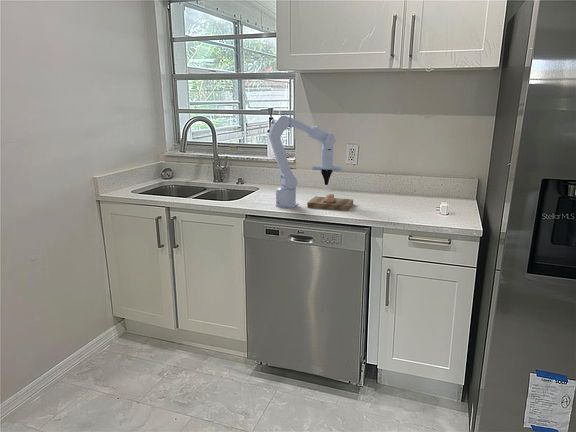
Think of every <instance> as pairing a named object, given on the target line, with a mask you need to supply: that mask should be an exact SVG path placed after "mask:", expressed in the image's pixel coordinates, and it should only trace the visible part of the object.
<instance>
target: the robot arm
mask: <svg viewBox="0 0 576 432" xmlns="http://www.w3.org/2000/svg"><path fill="white" fill-rule="evenodd" d="M288 128H296V129H297V130H300V131H302V132H304V133H306V134H307V136H308V137H309V138H311V139H312V140H315V141H317V142H319V143H320V144H321V159H320V160H321V162H320V163H321V164H320V165H312V166H311V167H312V168H311V169H312V171H320V174H321V175H322V178H323V180H324V181H323V182H324V186H328V185H329V181H330V179H331V178H330V177H331V175H332V173H333V171H335V172H337V171H338V172H342V169H343V167H342V166H338V165H337V166H335V165H334V145H335V143H336V141H337V139H336V138H335V135H334V134H333V133H330V132H328V130H323V129H321V128H320V126H318V125H313V126H309V125H307V124H306V123H304V122H301V121H300V120H298V119H296V118H293V117H291V116H288V115H285V114H284V115H281V114H276V115H274V116H273V118H272V119H271V120H270V127H269V132H268V139H269V141H270V145H271V147H272V150H273V153H274V156H275V160H276V162H277V165H278V169H279V175H280V177H279V181H280V184H281V187H277V188H276V192H275V207H278V208H280V207H281V208H290V209H292V208H295V207H296V206H298V205H299V203H297V202H296V201H297V195H296V193H297V185H298V179H297V178H296V177H295V175H294V172H293V171H292V169H291V167H290V164H289V161H288V158H287V155H286V151H285V149H284V145H283V142H282V139H281V137H282V135H283V134H284V132H285V131H286V130H287V129H288Z"/></svg>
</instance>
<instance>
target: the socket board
mask: <svg viewBox="0 0 576 432" xmlns="http://www.w3.org/2000/svg"><path fill="white" fill-rule="evenodd" d="M353 205H354V198H353V199H352V198H350V199H349V198H339V197H337V198H336V197H334V203H326V196H324V197H323V196H314V197H312V198H311V199H309V200H308V201H307V205H306V207H307V208H310V209H322V210H334V211H342V212H344V211H346V212H348V211H349V210H350V209H351V208H352V206H353Z"/></svg>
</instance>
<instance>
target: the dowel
mask: <svg viewBox="0 0 576 432" xmlns="http://www.w3.org/2000/svg"><path fill="white" fill-rule="evenodd" d="M325 197H326V203H334V198H335V194H334V193H333V194H332V193H328V194H325Z"/></svg>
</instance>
